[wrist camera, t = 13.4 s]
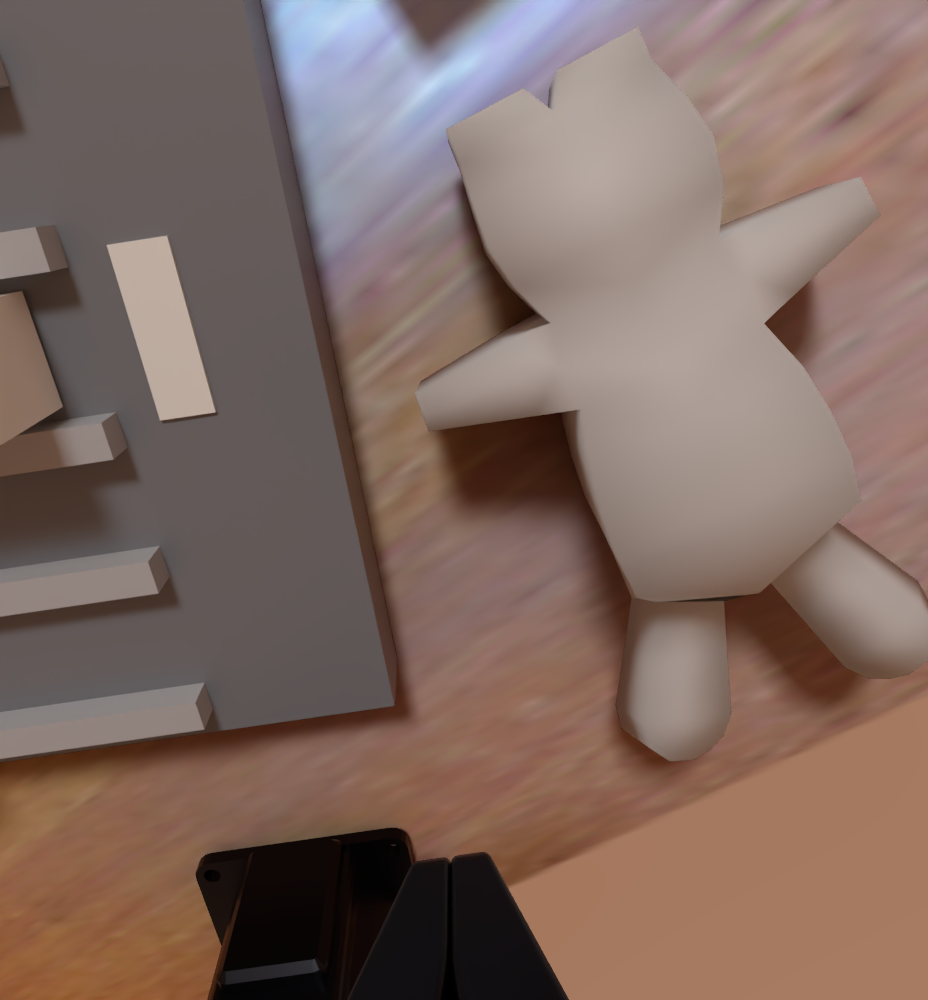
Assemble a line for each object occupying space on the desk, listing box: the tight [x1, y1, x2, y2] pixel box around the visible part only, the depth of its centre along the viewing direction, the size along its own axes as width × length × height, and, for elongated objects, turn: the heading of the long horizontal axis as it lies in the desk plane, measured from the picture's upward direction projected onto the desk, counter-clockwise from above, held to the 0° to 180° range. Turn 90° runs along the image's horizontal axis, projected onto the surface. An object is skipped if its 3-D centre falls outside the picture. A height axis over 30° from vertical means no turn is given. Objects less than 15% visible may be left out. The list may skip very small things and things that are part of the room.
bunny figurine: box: [415, 27, 928, 761], centre depth 17 cm, size 10×5×15 cm
